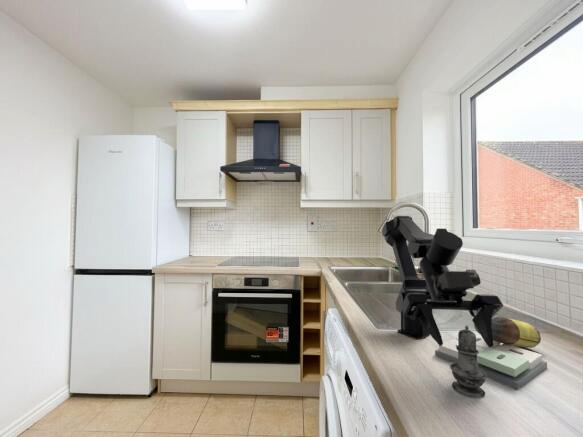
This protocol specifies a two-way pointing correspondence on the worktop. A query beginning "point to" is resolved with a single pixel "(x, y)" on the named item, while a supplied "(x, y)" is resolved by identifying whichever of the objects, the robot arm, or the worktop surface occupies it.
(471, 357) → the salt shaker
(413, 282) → the robot arm
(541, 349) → the worktop surface
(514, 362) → the green key
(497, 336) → the sauce bottle
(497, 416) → the worktop surface
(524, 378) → the keypad board
